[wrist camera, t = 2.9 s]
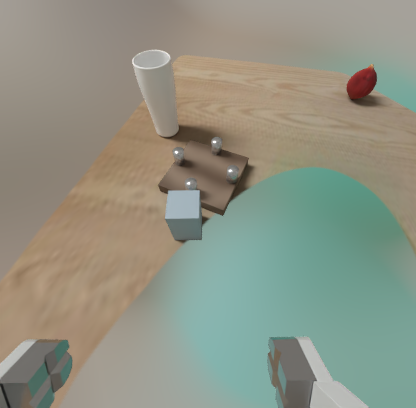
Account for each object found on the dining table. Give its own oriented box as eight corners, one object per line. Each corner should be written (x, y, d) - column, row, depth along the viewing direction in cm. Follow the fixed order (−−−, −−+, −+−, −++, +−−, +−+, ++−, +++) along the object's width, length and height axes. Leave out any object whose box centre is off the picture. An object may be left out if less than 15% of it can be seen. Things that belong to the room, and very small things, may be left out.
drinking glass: (182, 120, 49) (171, 48, 36) (182, 139, 46) (170, 67, 33) (154, 122, 49) (134, 50, 36) (152, 141, 45) (128, 69, 33)
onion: (369, 101, 52) (393, 67, 45) (353, 108, 50) (375, 74, 43) (350, 90, 54) (371, 56, 47) (335, 96, 53) (353, 62, 46)
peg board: (191, 146, 44) (189, 127, 40) (247, 164, 41) (251, 146, 37) (160, 190, 38) (153, 174, 34) (223, 215, 36) (224, 201, 31)
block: (176, 216, 36) (168, 190, 29) (202, 215, 36) (199, 190, 29) (174, 240, 33) (165, 218, 27) (201, 239, 33) (199, 218, 26)
